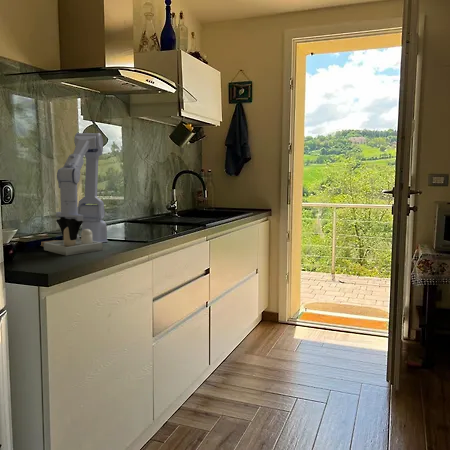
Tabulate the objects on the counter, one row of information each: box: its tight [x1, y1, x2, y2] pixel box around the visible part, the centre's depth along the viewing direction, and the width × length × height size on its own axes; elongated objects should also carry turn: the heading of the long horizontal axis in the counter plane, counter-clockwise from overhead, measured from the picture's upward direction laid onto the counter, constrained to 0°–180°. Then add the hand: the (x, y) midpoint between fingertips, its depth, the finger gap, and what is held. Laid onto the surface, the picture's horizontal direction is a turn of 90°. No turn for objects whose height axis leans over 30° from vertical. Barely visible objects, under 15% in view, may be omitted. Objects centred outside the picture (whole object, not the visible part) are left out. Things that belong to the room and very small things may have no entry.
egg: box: [63, 227, 76, 247], centre depth 163 cm, size 4×4×7 cm
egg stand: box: [40, 239, 60, 248], centre depth 176 cm, size 7×7×2 cm
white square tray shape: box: [43, 229, 104, 257], centre depth 168 cm, size 15×15×8 cm
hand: (69, 239), depth 163 cm, fingers closed on egg, 4 cm apart
